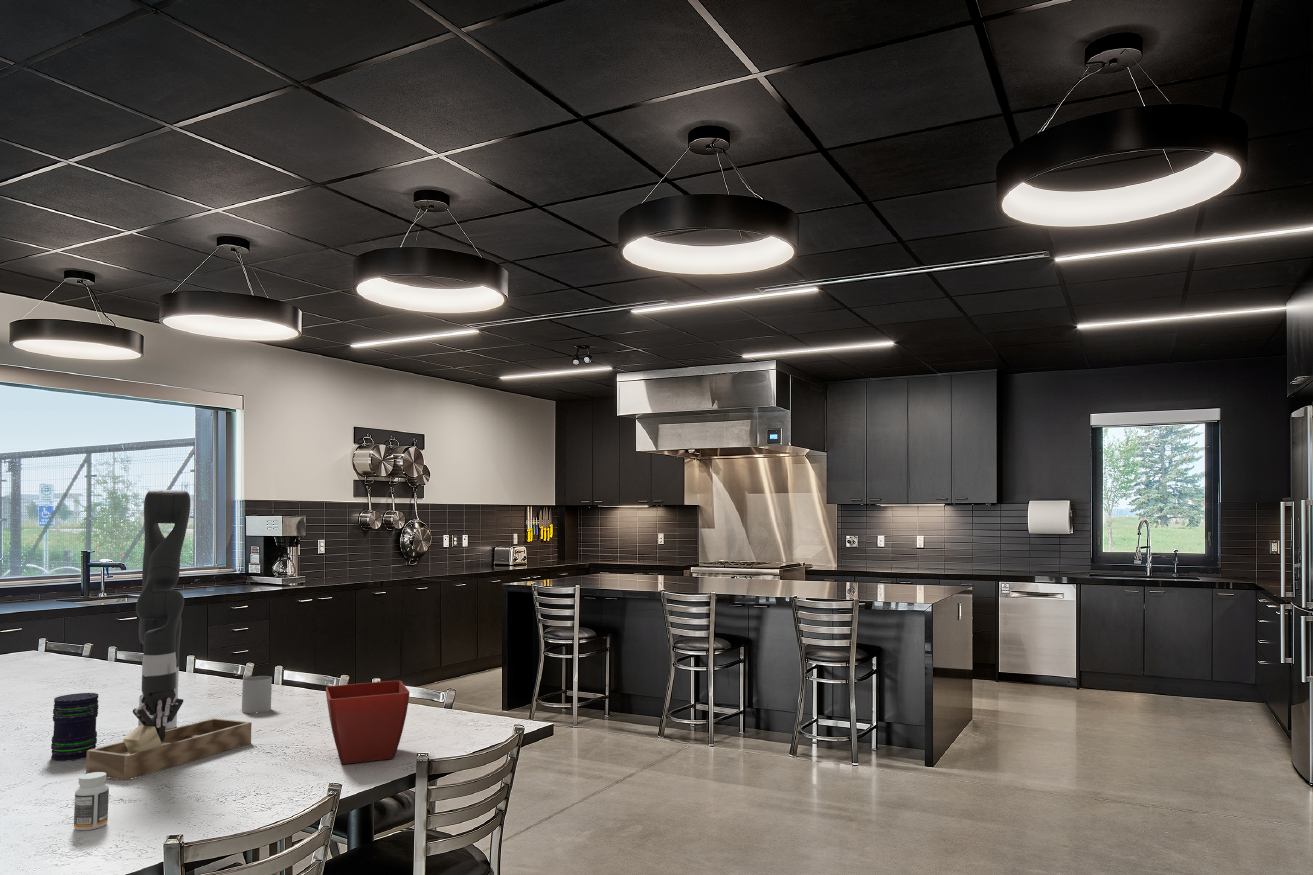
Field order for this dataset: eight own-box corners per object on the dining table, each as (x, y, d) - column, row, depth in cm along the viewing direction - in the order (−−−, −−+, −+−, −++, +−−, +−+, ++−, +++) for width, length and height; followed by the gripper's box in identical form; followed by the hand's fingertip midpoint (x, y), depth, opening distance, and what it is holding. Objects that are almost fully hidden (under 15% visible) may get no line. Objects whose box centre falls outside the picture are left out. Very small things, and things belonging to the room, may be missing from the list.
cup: (259, 713, 274) (260, 681, 275) (235, 712, 276) (237, 680, 277) (276, 708, 282) (277, 676, 283) (253, 707, 284) (254, 675, 285)
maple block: (130, 755, 216) (122, 738, 214) (146, 741, 221) (139, 725, 219) (145, 756, 214) (138, 740, 213) (161, 743, 219) (154, 726, 217)
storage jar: (47, 763, 221) (50, 702, 222) (53, 753, 229) (56, 695, 231) (94, 757, 225) (97, 698, 226) (98, 748, 234) (101, 691, 235)
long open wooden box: (212, 738, 244) (213, 718, 244) (250, 742, 239) (251, 722, 239) (85, 774, 211) (86, 750, 211) (126, 780, 206) (127, 756, 206)
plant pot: (323, 751, 230) (325, 685, 232) (399, 743, 238) (400, 679, 239) (327, 770, 213) (329, 698, 214) (409, 761, 220) (410, 692, 222)
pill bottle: (99, 819, 179) (101, 769, 180) (112, 825, 176) (115, 773, 177) (68, 827, 174) (70, 776, 175) (81, 833, 171) (83, 780, 172)
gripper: (171, 665, 229) (170, 733, 228) (124, 675, 217) (122, 747, 216) (192, 667, 226) (191, 736, 225) (145, 677, 214) (144, 750, 213)
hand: (157, 741), depth 220 cm, fingers closed
